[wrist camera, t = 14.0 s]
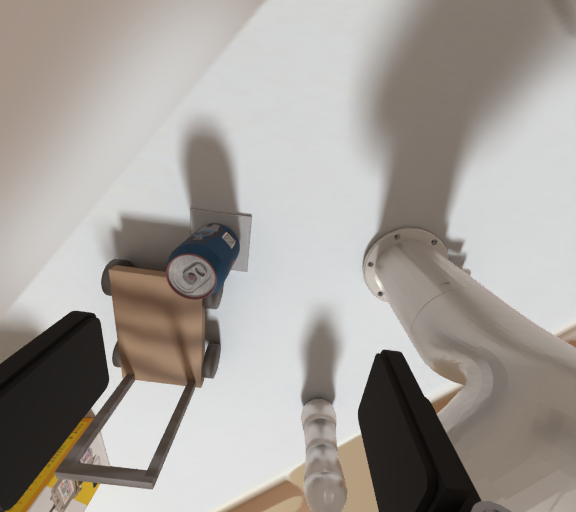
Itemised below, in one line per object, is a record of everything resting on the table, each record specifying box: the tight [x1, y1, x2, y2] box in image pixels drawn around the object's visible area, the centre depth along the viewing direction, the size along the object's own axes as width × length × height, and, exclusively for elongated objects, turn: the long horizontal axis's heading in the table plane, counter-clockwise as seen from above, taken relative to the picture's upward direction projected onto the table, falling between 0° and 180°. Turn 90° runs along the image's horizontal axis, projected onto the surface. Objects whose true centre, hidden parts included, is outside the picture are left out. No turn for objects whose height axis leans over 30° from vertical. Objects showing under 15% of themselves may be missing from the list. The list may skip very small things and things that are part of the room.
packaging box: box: [4, 417, 110, 512], centre depth 49 cm, size 16×16×25 cm
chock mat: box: [190, 208, 252, 272], centre depth 42 cm, size 9×9×1 cm
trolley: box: [54, 259, 224, 489], centre depth 38 cm, size 20×16×21 cm
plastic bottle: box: [301, 399, 347, 512], centre depth 45 cm, size 6×7×20 cm
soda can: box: [166, 223, 240, 300], centre depth 36 cm, size 7×7×12 cm
